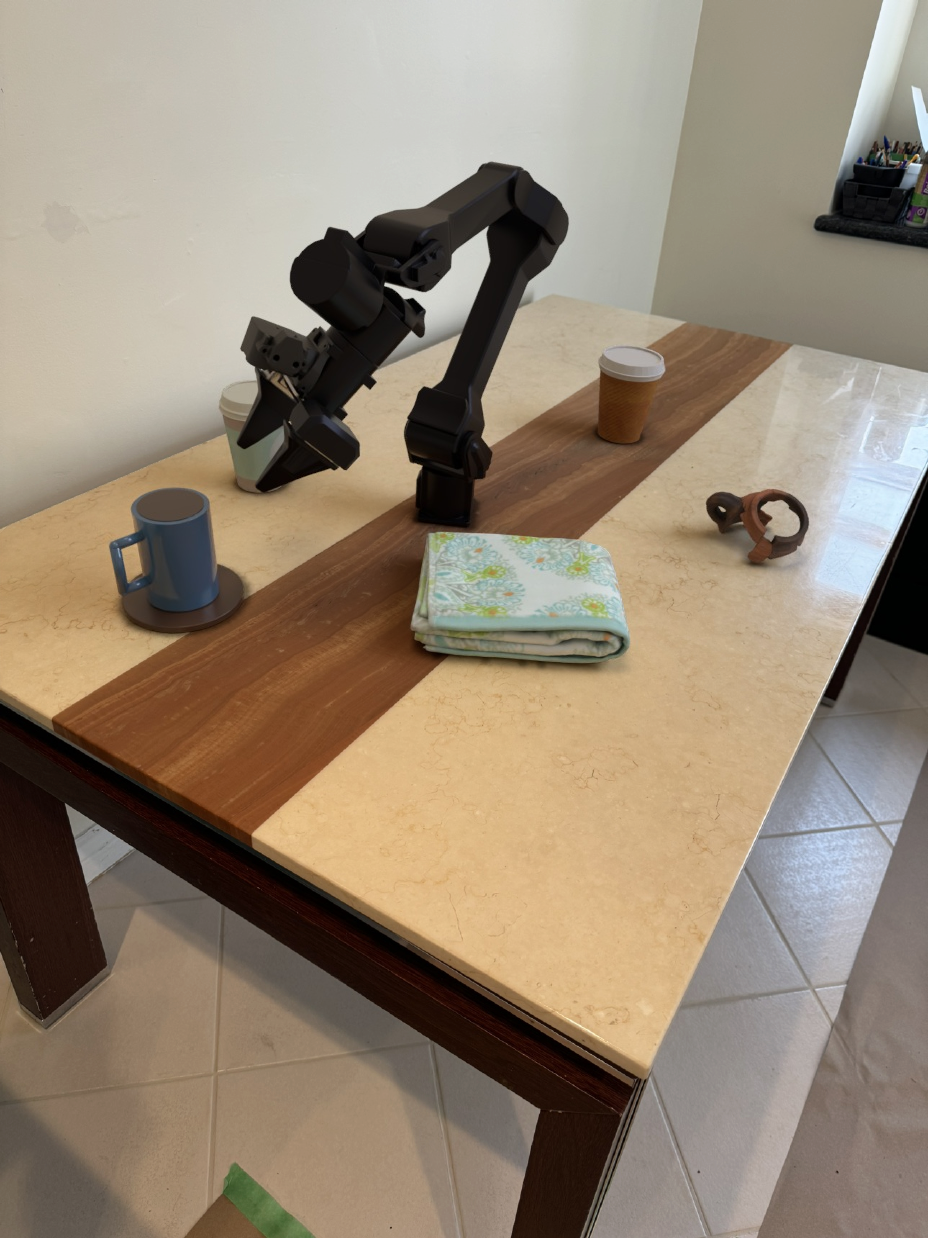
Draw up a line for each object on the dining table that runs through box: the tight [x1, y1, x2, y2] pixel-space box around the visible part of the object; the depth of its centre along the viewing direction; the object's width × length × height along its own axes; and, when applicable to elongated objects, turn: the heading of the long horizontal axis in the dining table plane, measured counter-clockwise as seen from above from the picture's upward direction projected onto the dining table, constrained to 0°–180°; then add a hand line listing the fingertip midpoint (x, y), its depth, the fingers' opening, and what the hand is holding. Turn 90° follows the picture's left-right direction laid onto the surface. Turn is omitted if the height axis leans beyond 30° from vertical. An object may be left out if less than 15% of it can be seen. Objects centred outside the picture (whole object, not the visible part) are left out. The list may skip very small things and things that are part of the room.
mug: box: [108, 487, 220, 612], centre depth 85 cm, size 10×7×10 cm
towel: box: [410, 531, 631, 664], centre depth 90 cm, size 18×21×5 cm
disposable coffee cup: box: [597, 344, 666, 444], centre depth 126 cm, size 10×10×12 cm
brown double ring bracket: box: [705, 488, 810, 564], centre depth 105 cm, size 12×9×8 cm
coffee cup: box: [218, 379, 284, 494], centre depth 107 cm, size 9×8×12 cm
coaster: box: [121, 563, 245, 634], centre depth 89 cm, size 12×12×1 cm
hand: (248, 467), depth 85 cm, fingers open, 9 cm apart
